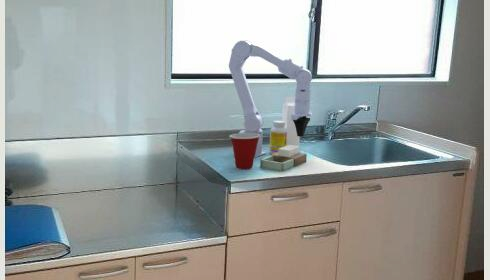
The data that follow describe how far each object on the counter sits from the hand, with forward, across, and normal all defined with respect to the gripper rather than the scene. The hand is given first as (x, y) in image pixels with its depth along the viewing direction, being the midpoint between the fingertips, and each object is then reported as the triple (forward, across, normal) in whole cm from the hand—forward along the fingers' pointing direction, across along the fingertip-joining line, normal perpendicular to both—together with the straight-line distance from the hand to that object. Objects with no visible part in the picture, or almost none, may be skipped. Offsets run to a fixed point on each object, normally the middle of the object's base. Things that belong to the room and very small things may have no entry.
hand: (300, 136), depth 208 cm
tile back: (+5, -7, 0) cm, 9 cm away
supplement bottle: (+9, +2, +10) cm, 13 cm away
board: (+8, -10, 0) cm, 13 cm away
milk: (+9, +10, +9) cm, 16 cm away
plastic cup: (+9, -28, +9) cm, 30 cm away
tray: (+8, -19, 0) cm, 21 cm away
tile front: (+5, -12, 0) cm, 13 cm away
